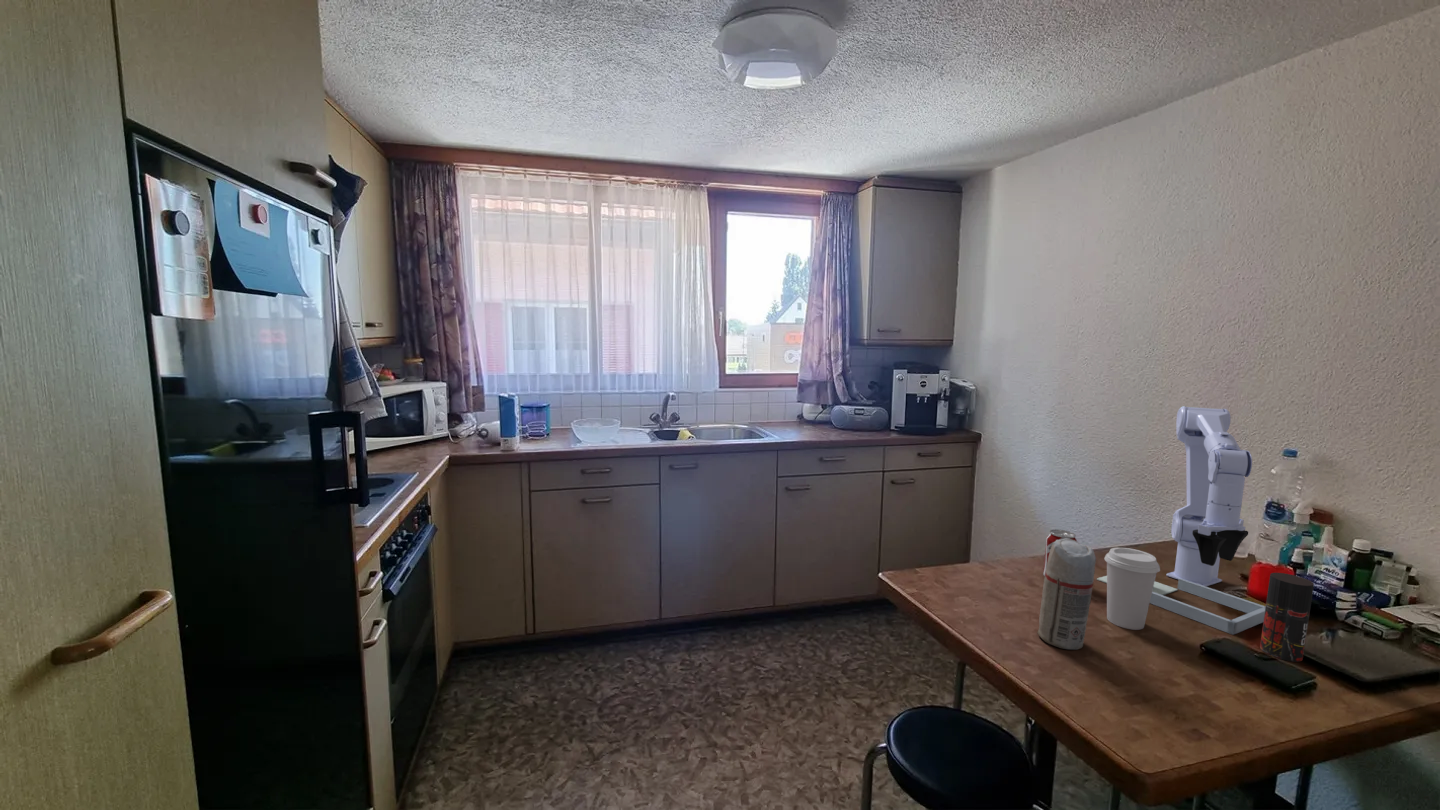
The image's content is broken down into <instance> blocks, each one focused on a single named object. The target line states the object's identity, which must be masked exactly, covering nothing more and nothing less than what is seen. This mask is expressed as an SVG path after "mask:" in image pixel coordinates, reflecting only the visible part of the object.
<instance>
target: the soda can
mask: <svg viewBox="0 0 1440 810" xmlns="http://www.w3.org/2000/svg"><path fill="white" fill-rule="evenodd" d="M1076 537H1077V536H1076V534H1075V533H1073V532H1071V531H1068V530H1063V529H1050V531H1049V534H1048V535H1046V538H1045V540H1046V541H1045V549H1044V560H1043V568H1042V569H1043V570H1042V575H1043V577H1045V573H1046V568H1047V562H1048V557H1049V553H1050V550H1051V547H1052V544H1053V543H1054V542H1055V541H1056V540H1061V539H1065V538H1067V539H1072V540H1075V541H1077V542H1078V540H1077V538H1076Z"/></svg>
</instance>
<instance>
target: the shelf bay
mask: <svg viewBox="0 0 1440 810" xmlns="http://www.w3.org/2000/svg"><path fill="white" fill-rule="evenodd" d="M1177 580H1178V579H1177ZM1176 589H1178V590H1179V591H1181V592H1185V593H1189V594H1192V595H1194V596H1197V597H1199V598H1203V599H1206V600H1209V601H1211V602H1215V603H1217V604H1220V605H1223V606H1225V607H1229V608H1232V609H1234V610H1236V611H1237V610H1238V611H1240V612H1243V613H1245V614H1243V615H1240V616H1238V617H1236V618H1233V619H1229V618H1227V617H1224V616H1221V615H1219V614H1215V613H1213V612H1210V611H1207V610H1204V609H1202V608H1199V607H1196V606H1194V605H1191V604H1187V603H1185V602H1182V601H1179V600H1176V599H1174V598H1171V597H1169V596H1166V595H1161V594H1158V593H1155V592H1152V594H1151V599H1150V603H1149V604H1151V605H1154V606H1155V607H1159V608H1162V609H1165V610H1167V611H1169V612H1172V613H1175V614H1177V615H1179V616H1183V617H1185V618H1188V619H1191V620H1193V621H1196V622H1198V623H1200V624H1204V625H1205V626H1209V627H1212V628H1214V629H1217V630H1218V631H1222V632H1225V633H1227V634H1230V635H1232V636H1233V635H1236V634H1238V633H1241V632H1243V631H1245V630H1248V629H1250V628H1252V627H1255V626H1257V625H1259V624H1263V622H1264V615H1265V608H1266V605H1263V604H1259V603H1257V602H1253V601H1250V600H1248V599H1244V598H1241V597H1238V596H1235V595H1232V594H1229V593H1226V592H1223V591H1220V590H1218V589H1215V588H1211V587H1209V586H1203V585H1200V584H1197V583H1193V582H1190V581H1187V580H1184V579H1181V578H1180V579H1179V580H1178V582H1177V588H1176Z"/></svg>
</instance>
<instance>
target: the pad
mask: <svg viewBox="0 0 1440 810" xmlns="http://www.w3.org/2000/svg"><path fill="white" fill-rule="evenodd" d="M1096 580H1097V581H1099V582H1102V583H1105V584H1107V575H1103V576H1099V577H1098V578H1096ZM1178 590H1179V589H1177V588H1175V587H1172V586H1170V585H1166V584H1164V583H1161V582H1158V581H1156V580H1155V582H1154V586H1153V590H1152V592H1155V593H1158V594H1161V595H1163V596H1166V595H1168V594H1171V593H1174V592H1177V591H1178Z"/></svg>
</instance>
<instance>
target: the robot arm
mask: <svg viewBox="0 0 1440 810" xmlns="http://www.w3.org/2000/svg"><path fill="white" fill-rule="evenodd" d="M1230 426H1231V413H1230V411H1229V410H1228V408H1212V407H1211V408H1210V407H1209V408H1208V407H1195V406H1193V407H1192V406H1185V405H1183V406H1181V407H1180V408H1178V410H1177V412H1176V426H1175V428H1176V429H1175V430H1176V431H1175V432H1176V438H1177V440H1178V441H1180V442H1182V443H1184V449H1185V453H1186V454H1185V455H1186V456H1185V457H1186V460H1185V461H1186V462H1185V463H1186V464H1185V465H1186V470H1185V471H1186V472H1185V473H1186V505H1184V506H1183V507H1180V508H1178V509H1176V510H1174V511H1175V512H1174V513H1173V514H1172V521H1171V522H1172V523H1171V537H1172V539H1173V540H1174V541H1175V542H1177V549H1176V557H1175V565H1174V570H1173V571H1171V572H1167V573H1166V577H1170V578H1172V579H1176V580H1179V579H1180V578H1181V579H1184V580H1187V581H1190V582H1193V583H1197V584H1200V585H1203V586H1206V587H1209V586H1211V585H1215V584H1217V583H1221V582H1223V579H1221V578H1219V577H1218V576H1219V567H1220V560H1221V559H1222V560H1225V561H1226V560H1227V561H1230V562H1232V561H1233V559H1234V557H1235V555H1236V553H1237V550H1238V549H1239V547H1240V545H1241V543H1242V542H1243V541H1244V539H1245V538H1246V537H1247V536H1248V535H1249V531H1248V530H1246V526H1244V523H1245V520H1244V519H1242V518H1241V511H1242V505H1243V498H1244V496H1243V495H1244V491H1245V489H1244V488H1245V481H1246V478H1248V477H1249V476H1250V474H1251V471H1252V467H1253V457H1252V454H1251V451H1250V450H1245V449H1241V448H1240V445H1239V443H1238V442H1237V440H1236V438H1235V436H1234V435H1232V434H1231V433H1229V432H1228V431H1229V429H1230Z"/></svg>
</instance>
